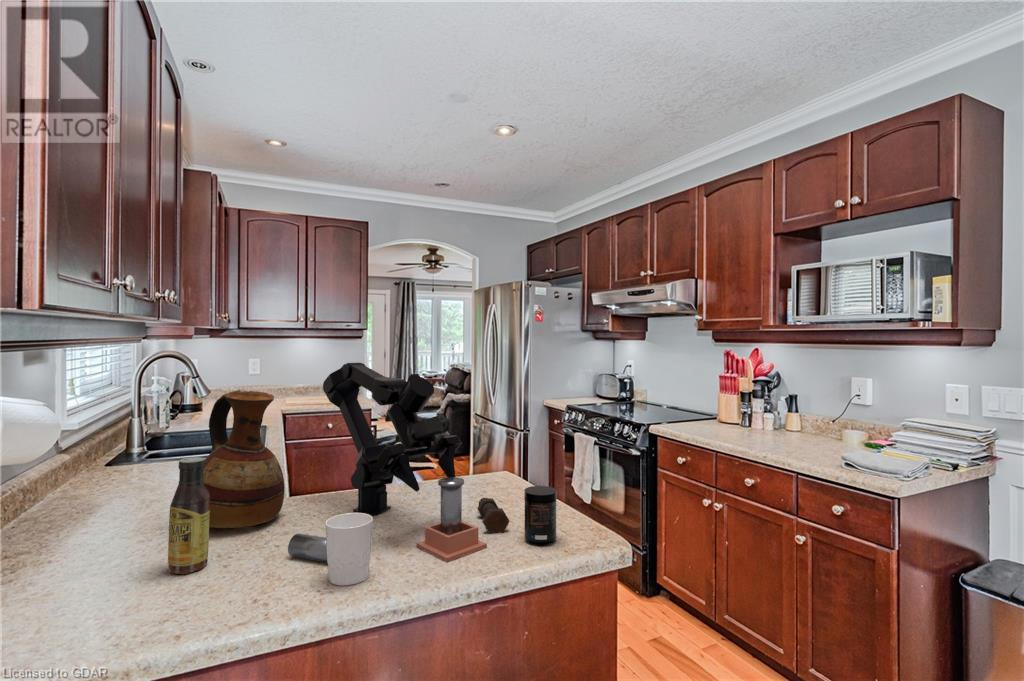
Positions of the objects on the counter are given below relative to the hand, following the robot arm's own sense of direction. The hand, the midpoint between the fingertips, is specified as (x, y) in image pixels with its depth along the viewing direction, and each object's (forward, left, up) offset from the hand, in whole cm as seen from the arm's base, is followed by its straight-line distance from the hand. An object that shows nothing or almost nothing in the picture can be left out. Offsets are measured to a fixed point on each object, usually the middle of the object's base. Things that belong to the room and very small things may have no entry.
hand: (436, 485), depth 107 cm
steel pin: (+5, -2, -10) cm, 12 cm away
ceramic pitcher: (-46, -13, -12) cm, 49 cm away
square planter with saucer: (+5, -1, -11) cm, 12 cm away
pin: (-14, -16, -9) cm, 23 cm away
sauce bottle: (-31, -32, -11) cm, 46 cm away
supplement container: (+19, +11, -12) cm, 25 cm away
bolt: (+4, +15, -12) cm, 20 cm away
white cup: (-3, -21, -12) cm, 24 cm away
